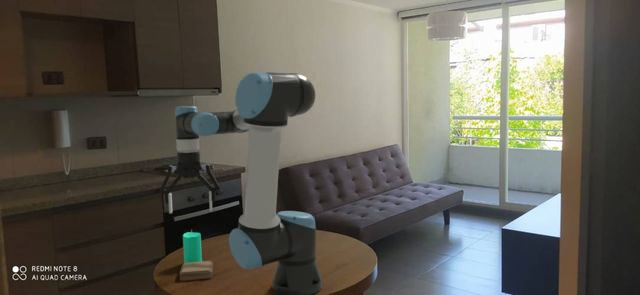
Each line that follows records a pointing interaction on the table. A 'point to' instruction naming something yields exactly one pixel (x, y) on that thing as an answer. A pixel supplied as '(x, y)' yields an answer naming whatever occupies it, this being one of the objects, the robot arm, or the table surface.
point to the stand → (196, 270)
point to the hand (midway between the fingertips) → (191, 211)
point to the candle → (192, 247)
